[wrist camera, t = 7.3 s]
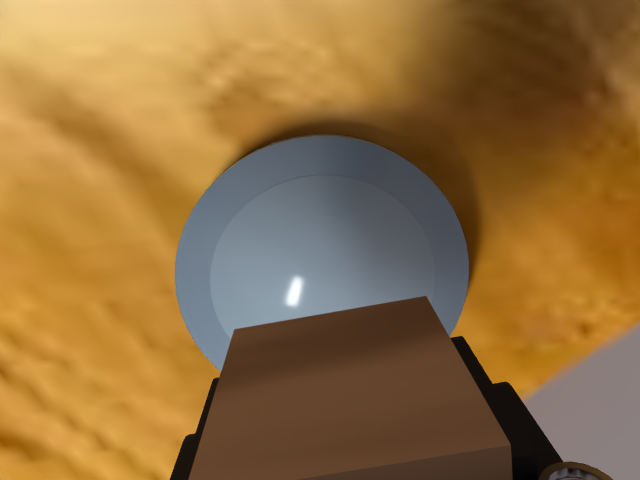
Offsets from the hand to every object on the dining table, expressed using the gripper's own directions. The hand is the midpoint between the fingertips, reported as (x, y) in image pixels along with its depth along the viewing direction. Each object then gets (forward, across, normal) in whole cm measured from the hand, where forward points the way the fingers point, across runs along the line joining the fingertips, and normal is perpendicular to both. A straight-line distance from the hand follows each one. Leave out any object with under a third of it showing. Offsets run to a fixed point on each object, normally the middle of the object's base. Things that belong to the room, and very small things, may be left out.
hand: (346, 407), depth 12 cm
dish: (+8, 0, 0) cm, 8 cm away
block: (+1, 0, 0) cm, 1 cm away
